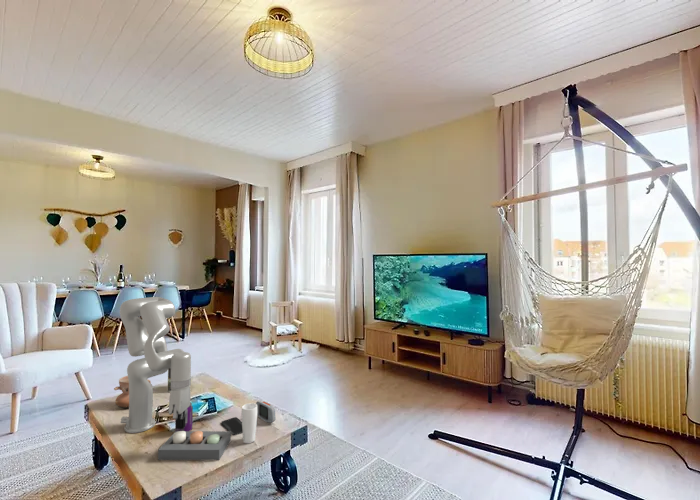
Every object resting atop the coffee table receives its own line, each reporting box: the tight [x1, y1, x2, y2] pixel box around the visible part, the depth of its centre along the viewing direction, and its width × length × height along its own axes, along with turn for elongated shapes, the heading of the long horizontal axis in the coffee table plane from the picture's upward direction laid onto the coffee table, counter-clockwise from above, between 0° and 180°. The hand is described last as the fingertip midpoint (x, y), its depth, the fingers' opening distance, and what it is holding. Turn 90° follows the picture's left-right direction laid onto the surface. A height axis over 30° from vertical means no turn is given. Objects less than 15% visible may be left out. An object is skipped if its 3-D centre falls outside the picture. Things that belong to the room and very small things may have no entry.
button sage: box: [207, 434, 220, 444], centre depth 142 cm, size 5×5×4 cm
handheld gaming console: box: [255, 400, 276, 423], centre depth 169 cm, size 14×3×8 cm, turn 49°
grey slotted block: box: [157, 430, 232, 461], centre depth 142 cm, size 24×14×4 cm, turn 91°
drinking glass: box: [240, 402, 258, 444], centre depth 150 cm, size 7×7×15 cm
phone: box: [220, 416, 243, 436], centre depth 161 cm, size 8×1×15 cm
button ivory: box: [172, 431, 186, 444], centre depth 142 cm, size 5×5×4 cm
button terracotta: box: [190, 430, 203, 444], centre depth 142 cm, size 5×5×4 cm
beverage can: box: [174, 402, 194, 432], centre depth 157 cm, size 7×7×12 cm
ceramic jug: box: [113, 375, 152, 408], centre depth 184 cm, size 18×14×14 cm
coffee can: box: [167, 368, 171, 393], centre depth 204 cm, size 10×10×14 cm
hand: (180, 427), depth 142 cm, fingers closed
